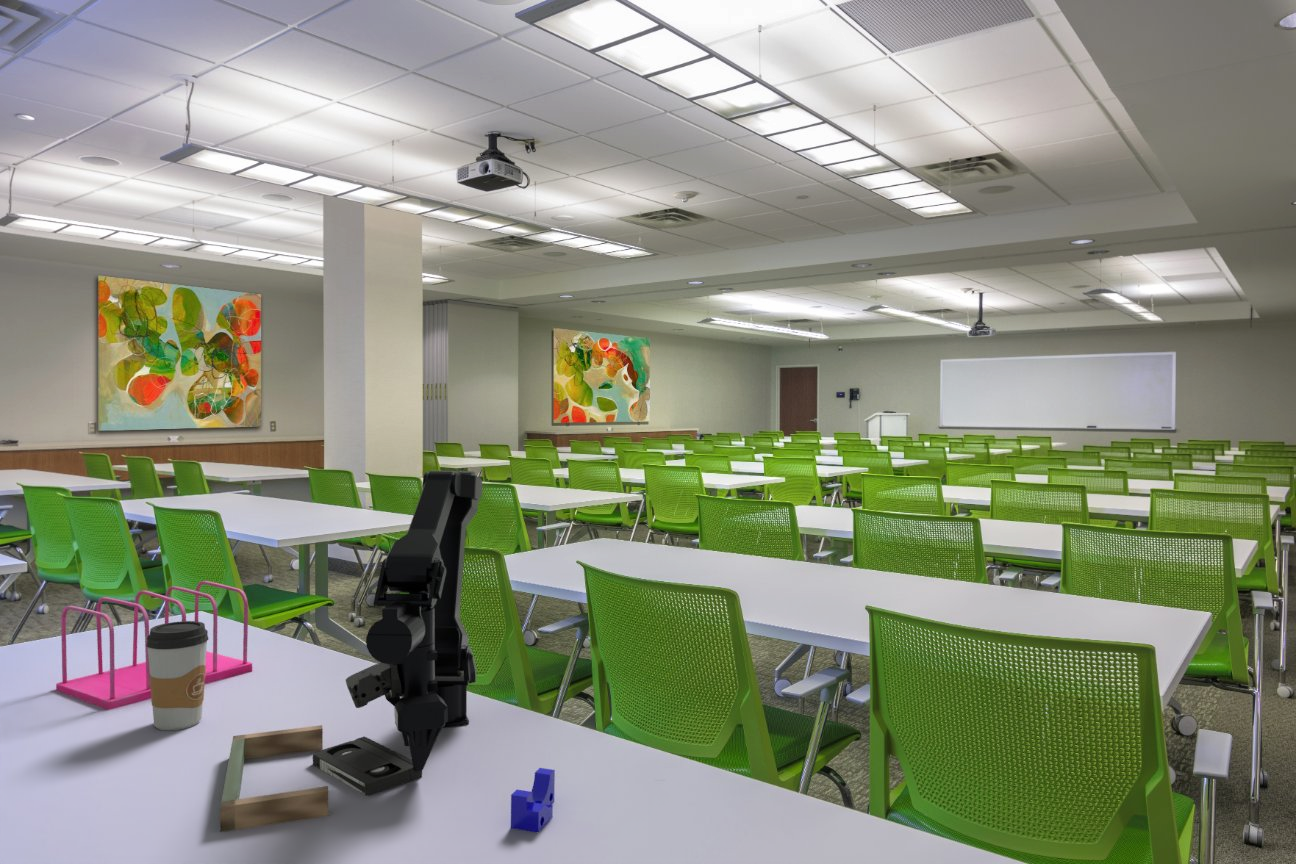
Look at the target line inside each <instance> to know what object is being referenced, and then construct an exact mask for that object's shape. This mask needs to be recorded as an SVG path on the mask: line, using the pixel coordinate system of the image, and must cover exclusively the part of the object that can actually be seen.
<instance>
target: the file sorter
mask: <svg viewBox="0 0 1296 864" xmlns="http://www.w3.org/2000/svg"><path fill="white" fill-rule="evenodd" d="M203 585H208V586H212V587H216V588H219V589H220V588H221V589H224V590H229V591H233V592H235V593H238V594H240V596H241V597H242V601H243V639H242V640H243V645H242V650H243V651H242V659H239V658H234V657H232V656H231V657H230V656H227V655H223V654H219V653H218V605H217V602H216V600H215V598H214V597H213V596H212V595H211V594H209V593H204V592H201V591H200V589H201V587H202V586H203ZM173 590H175V591H179V592H183V593H188V594H191V595H192V594H193V595H194V621H197V622H199V611H200V610H199V608H200V606H199V605H200V602H199V600H200V599H199V598H200V597H203V598H206V599H207V600H209V601H210V603H211V605H212V614H213V615H212V616H213V618H212V620H213V621H212V622H213V626H212V627H213V629H212V630H213V631H212V641H213V642H212V646H213V647H212V652H211V651H208V650H206V662H205V666H206V671H205V685H207V684H210V683H215V682H218V681H221V680H225V679H229V678H233V677H236V676H240V675H243V674H247V673H252V672H253V663H252V662H249V661H248V640H249V639H248V631H249V627H248V625H249V605H248V604H249V603H248V598H247V594H246V592H245V591H243V590H242V589H240V588H237V587H233V586H229V585H226V584H222V583H217V582H214V581H208V580H202V581H200V582H198V583H197V585H196V587H195V590H193V589H189V588H185V587H181V586H177V585H176V586H175V585H174V586H170V587H168V589H167V590H166V592H165V595H164V594H163V595H162V594H159V593H155V592H153V591H150V590H146V589H145V590H140V591H138V592H137V594H136V596H135V598H134V602H130V601H126V600H122V599H117V598H112V597H108V596H103V597H101V598H99V599H98V601H97V603H96V610H92V609H88V608H85V607H79V606H75V605H66V606H65V607H64V608H63V610H62V613H61V618H60V619H61V621H60V624H61V625H60V628H61V630H60V631H61V670H62V671H61V674H62V675H61V676H62V678H61V680H62V681H60V682H56V683H55V687H56V688H55V691H57V692H60V693H63V694H66V695H67V696H71V697H73V698H76V699H79V700H81V701H84V702H87V703H89V704H93V705H95V706H98V707H101V708H103V709H105V710H113V709H117V708H120V707H124V706H129V705H132V704H137V703H139V702H144V701H147V700H151V689H150V677H149V673H150V669H149V656H148V647H147V646H146V644H147V637H148V636H149V635H150V619H149V615H148V612H147V609H145V607H144V606H143V605H141V604H140V603H139V602H140V598H141V595H147V596H150V597H153V598H157V599H161V600H163V601H164V624H166V623H170V621H169V618H170V616H169V613H170V612H169V611H170V603H173V604H174V605H176V606H178V608H179V610H180V614H181V621H187V613H186V609H185V606H184V604H183V603H182V602H181V601H180V600H177V599H175V598H173V597H170V594H171V592H172V591H173ZM104 601H105V602H110V603H115V604H119V605H124V606H128V607H131V608H133V635H132V636H133V639H132V665H131V664H130V665H126V666H122V667H118V668H115V627H114V623H113V621H112V619H111V618H110V616H109V615H108V614H107V613H103V612H101V610H102V604H103V602H104ZM69 610H71V611H77V612H80V613H83V614H84V613H85V614H90V615H94V616H95V617H96V638H97V639H96V641H97V642H96V644H97V666H98V667H97V668H98V672H97V673H94V674H89V675H85V676H81V677H77V678H72V679H68V671H67V669H68V668H67V664H68V662H67V660H68V659H67V614H68V612H69ZM139 611H140V612H141V613H142V616H143V620H144V643H145V644H144V648H145V654H144V655H145V661H143V662H140V663H138V662H137V661H138V633H139V632H138V627H139ZM102 618H103V619H104V620H105V621H106V623H107V626H108V629H109V670H107V671H106V670H105V671H104V669H103V668H104V667H103V644H102V642H103V641H102V640H103V639H102V620H101V619H102Z"/></svg>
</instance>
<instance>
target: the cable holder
mask: <svg viewBox="0 0 1296 864" xmlns="http://www.w3.org/2000/svg"><path fill="white" fill-rule="evenodd" d="M555 772H556V770H555V769H552V768H544V767H539V768H538V769H537V770H536V771H535V772H534V776H533V778H534V780H533V785H532V788H531V791H530V790H521V789H515V790H514V792H512V793H511V794H510V829H514V830H521V831H526V832H532V833H537V832H539V831H540V830H541V831H542V830H543V828H544V827H545V826H546V825H547V824H548V823H549V822H550V821H551V820H552V819H553V818H554V817H553V814H554V813H553V809H554V808H553V806H554V805H553V803H554V802H555V777H556V776H555ZM551 818H552V819H551ZM550 819H551V820H550ZM549 820H550V821H549ZM547 822H548V823H547ZM541 831H540V832H541ZM540 832H539V833H540Z"/></svg>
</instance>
